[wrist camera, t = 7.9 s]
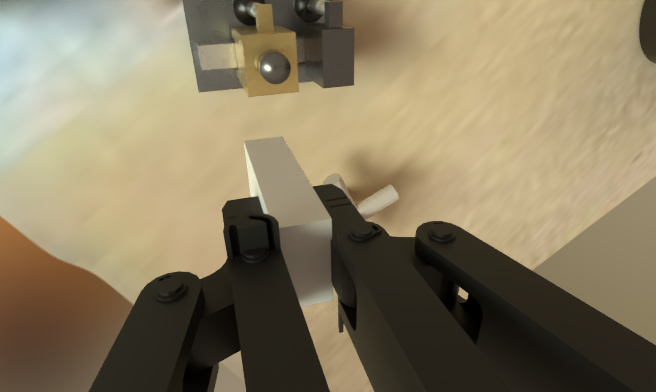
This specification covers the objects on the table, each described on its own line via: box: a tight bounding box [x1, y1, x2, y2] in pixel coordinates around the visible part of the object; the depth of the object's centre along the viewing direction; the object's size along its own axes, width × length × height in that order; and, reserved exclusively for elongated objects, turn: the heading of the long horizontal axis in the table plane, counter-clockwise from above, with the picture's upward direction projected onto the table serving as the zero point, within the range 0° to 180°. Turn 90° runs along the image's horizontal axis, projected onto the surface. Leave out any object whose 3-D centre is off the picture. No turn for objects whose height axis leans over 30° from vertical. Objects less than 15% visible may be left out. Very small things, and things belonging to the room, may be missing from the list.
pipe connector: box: [323, 174, 399, 221], centre depth 40 cm, size 10×10×10 cm
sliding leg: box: [231, 2, 299, 97], centre depth 29 cm, size 4×6×8 cm, turn 2°
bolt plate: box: [183, 0, 354, 92], centre depth 31 cm, size 12×8×8 cm, turn 92°
